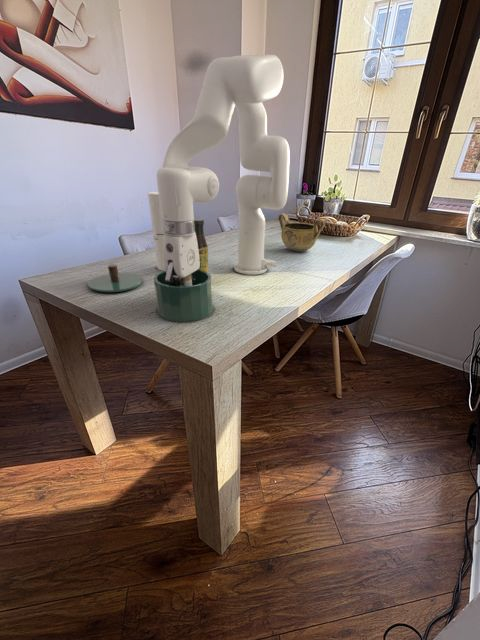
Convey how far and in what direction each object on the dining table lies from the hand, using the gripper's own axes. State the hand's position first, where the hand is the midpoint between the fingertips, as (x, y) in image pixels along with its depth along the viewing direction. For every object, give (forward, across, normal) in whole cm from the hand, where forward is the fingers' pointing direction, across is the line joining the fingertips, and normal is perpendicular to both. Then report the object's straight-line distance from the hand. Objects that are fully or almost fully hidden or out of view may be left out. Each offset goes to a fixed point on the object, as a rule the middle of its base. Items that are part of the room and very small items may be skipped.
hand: (184, 296), depth 84 cm
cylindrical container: (+4, +29, +24) cm, 38 cm away
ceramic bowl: (+4, +78, -15) cm, 79 cm away
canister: (+4, 0, 0) cm, 4 cm away
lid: (+3, +7, +29) cm, 30 cm away
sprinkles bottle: (+4, 0, 0) cm, 4 cm away
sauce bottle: (+4, +21, +7) cm, 22 cm away
